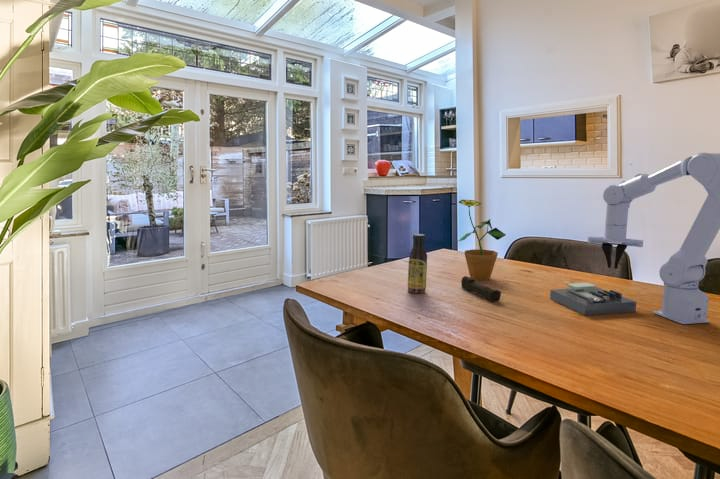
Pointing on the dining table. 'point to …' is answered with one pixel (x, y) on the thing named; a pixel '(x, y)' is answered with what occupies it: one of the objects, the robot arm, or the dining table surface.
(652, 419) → the dining table surface
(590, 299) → the heatsink block
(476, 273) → the potted plant
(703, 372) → the dining table surface
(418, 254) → the sauce bottle
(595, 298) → the grey flat bar
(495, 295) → the hand tool
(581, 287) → the catch
